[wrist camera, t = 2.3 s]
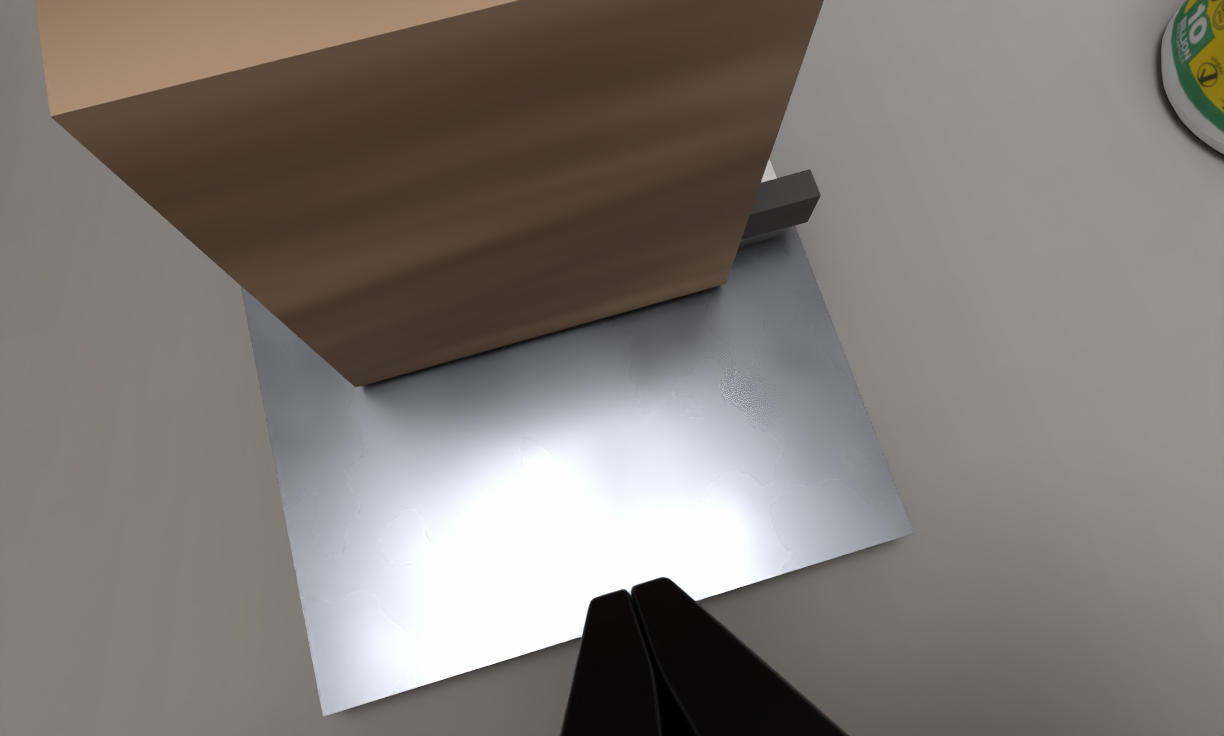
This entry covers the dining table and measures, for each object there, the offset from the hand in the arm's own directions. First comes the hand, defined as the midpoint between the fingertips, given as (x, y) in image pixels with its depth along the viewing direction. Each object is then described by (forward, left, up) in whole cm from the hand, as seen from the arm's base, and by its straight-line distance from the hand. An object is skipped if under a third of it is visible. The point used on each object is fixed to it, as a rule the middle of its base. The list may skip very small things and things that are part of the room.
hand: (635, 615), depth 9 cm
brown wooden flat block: (+6, -3, -8) cm, 10 cm away
